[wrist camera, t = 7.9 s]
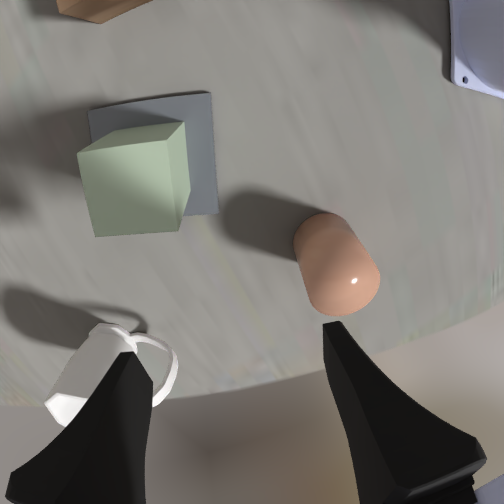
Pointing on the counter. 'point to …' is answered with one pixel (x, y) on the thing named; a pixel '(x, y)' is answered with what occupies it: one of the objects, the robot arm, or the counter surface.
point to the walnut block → (97, 8)
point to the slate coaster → (196, 131)
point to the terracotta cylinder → (334, 265)
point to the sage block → (136, 180)
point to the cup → (100, 369)
